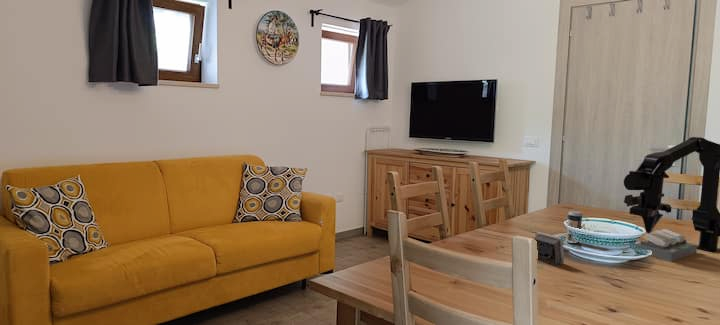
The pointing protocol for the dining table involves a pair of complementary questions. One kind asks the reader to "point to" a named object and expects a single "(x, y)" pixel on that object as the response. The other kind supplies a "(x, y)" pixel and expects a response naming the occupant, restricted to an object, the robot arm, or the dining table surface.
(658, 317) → the dining table surface
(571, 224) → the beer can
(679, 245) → the console
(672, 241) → the rocker
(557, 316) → the dining table surface
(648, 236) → the rocker
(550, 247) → the electrical switch
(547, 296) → the dining table surface
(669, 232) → the rocker
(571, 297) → the dining table surface
